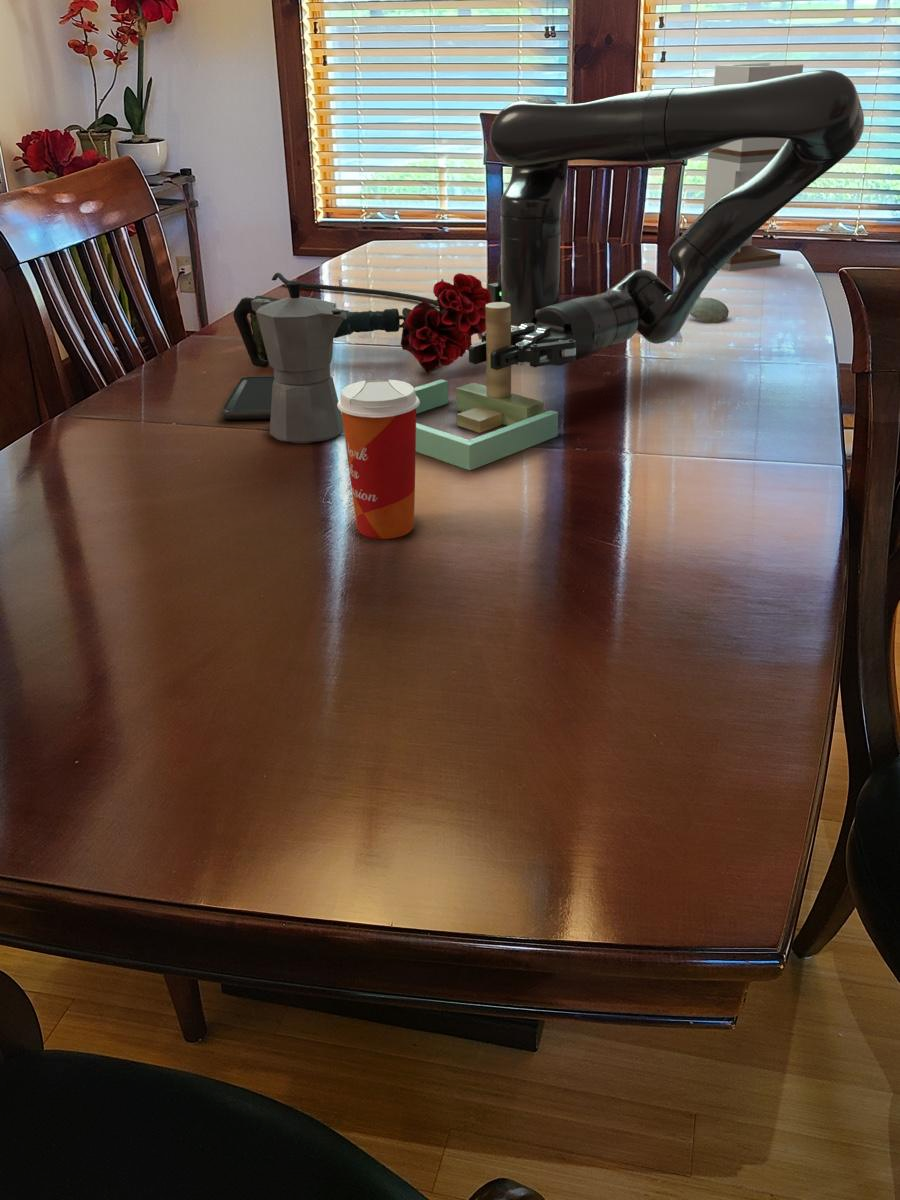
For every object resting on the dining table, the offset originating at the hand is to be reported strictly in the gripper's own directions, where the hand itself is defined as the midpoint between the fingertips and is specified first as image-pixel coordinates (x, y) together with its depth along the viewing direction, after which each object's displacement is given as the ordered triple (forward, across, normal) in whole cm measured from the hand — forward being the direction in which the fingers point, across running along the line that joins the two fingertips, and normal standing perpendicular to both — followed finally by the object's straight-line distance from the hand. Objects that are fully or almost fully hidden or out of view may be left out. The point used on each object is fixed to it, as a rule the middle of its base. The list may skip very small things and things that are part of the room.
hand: (482, 358), depth 129 cm
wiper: (-3, 0, +8) cm, 9 cm away
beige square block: (+1, 0, +8) cm, 8 cm away
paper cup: (+28, +14, +8) cm, 33 cm away
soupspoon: (-67, -14, +8) cm, 69 cm away
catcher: (+4, 0, +8) cm, 9 cm away
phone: (+13, -28, +8) cm, 32 cm away
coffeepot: (+16, -15, +8) cm, 24 cm away
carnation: (-9, -31, +8) cm, 33 cm away
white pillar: (-102, -28, +8) cm, 106 cm away
